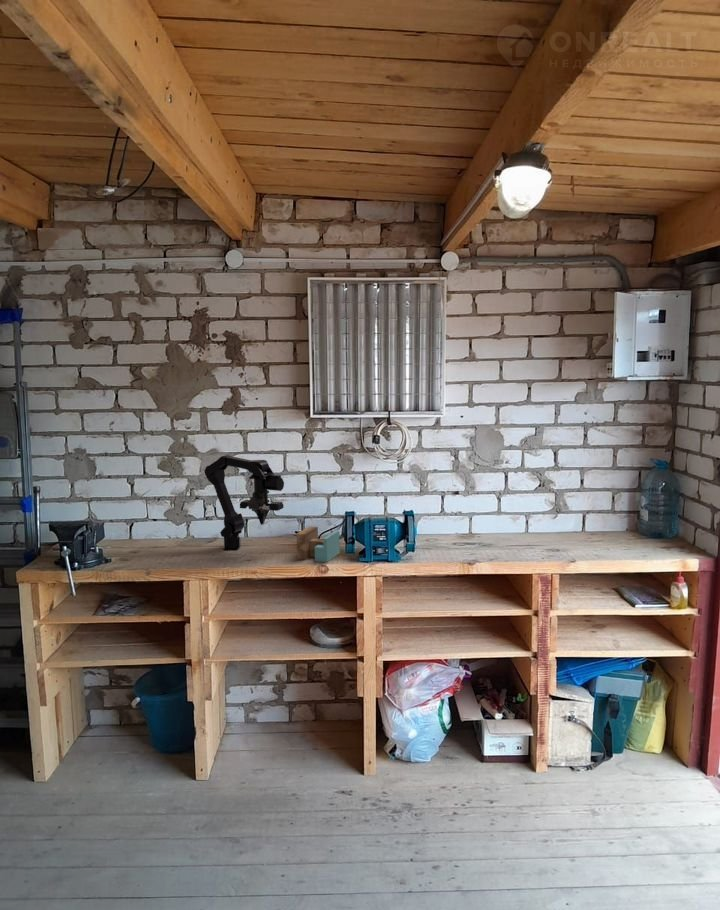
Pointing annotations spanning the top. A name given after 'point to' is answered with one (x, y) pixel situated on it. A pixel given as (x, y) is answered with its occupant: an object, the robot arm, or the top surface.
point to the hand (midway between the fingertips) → (262, 524)
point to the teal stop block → (328, 548)
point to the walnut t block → (307, 542)
